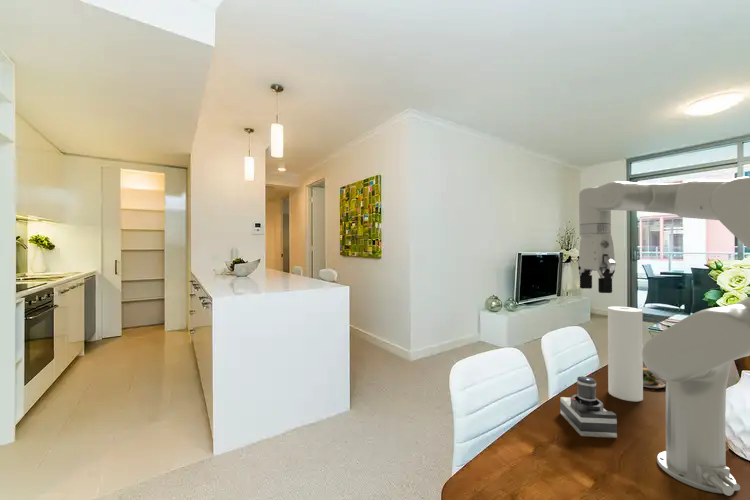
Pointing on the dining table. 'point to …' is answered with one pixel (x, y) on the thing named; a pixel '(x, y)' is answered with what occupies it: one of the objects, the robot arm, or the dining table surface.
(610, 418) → the grey striped block
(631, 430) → the dining table surface
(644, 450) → the dining table surface
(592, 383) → the lens
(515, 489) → the dining table surface
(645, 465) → the dining table surface
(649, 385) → the white patterned bowl
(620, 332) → the cylinder container
